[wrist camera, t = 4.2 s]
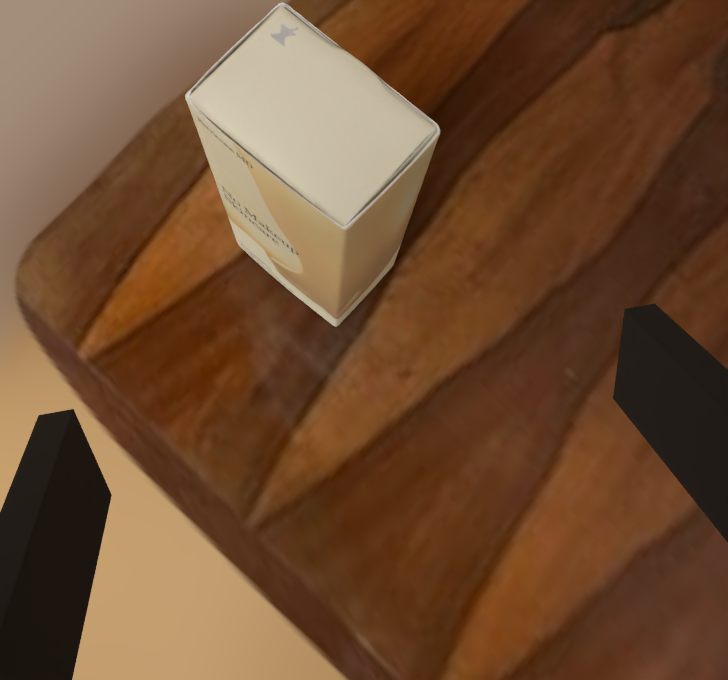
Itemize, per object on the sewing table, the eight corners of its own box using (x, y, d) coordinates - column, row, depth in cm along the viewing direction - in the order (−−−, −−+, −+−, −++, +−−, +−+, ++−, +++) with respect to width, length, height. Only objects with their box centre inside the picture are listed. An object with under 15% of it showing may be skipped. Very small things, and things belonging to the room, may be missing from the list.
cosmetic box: (234, 245, 30) (168, 89, 18) (297, 179, 31) (274, -12, 19) (341, 335, 30) (345, 234, 18) (403, 265, 30) (447, 123, 18)
